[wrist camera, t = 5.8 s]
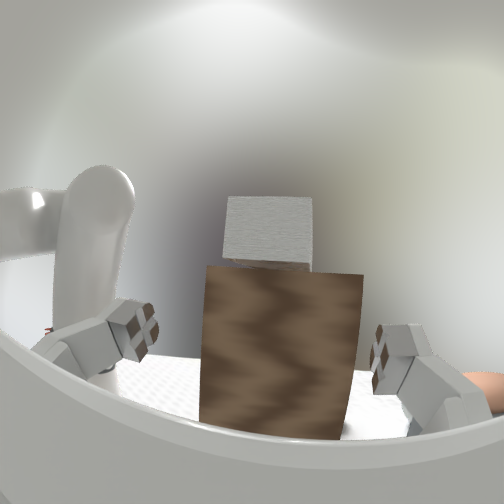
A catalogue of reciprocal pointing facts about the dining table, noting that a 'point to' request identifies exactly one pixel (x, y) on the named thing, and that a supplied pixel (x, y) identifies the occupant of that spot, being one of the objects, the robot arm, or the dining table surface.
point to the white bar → (269, 232)
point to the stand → (279, 350)
